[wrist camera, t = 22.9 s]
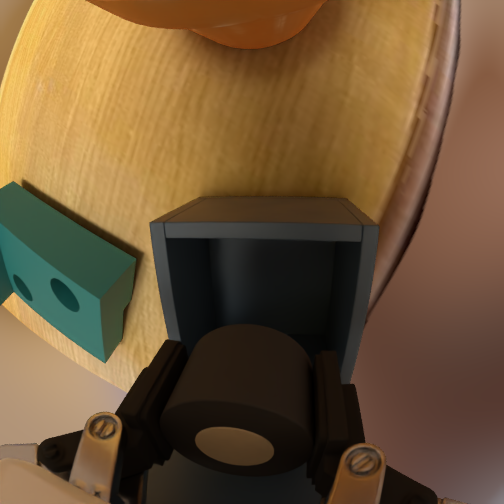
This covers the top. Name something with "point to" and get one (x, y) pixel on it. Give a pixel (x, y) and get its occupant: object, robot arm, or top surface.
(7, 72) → the top surface
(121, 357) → the top surface
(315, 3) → the flower pot
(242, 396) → the tape roll
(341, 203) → the chest
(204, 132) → the top surface
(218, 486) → the lid
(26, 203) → the teal l-shaped bracket
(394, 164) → the top surface
